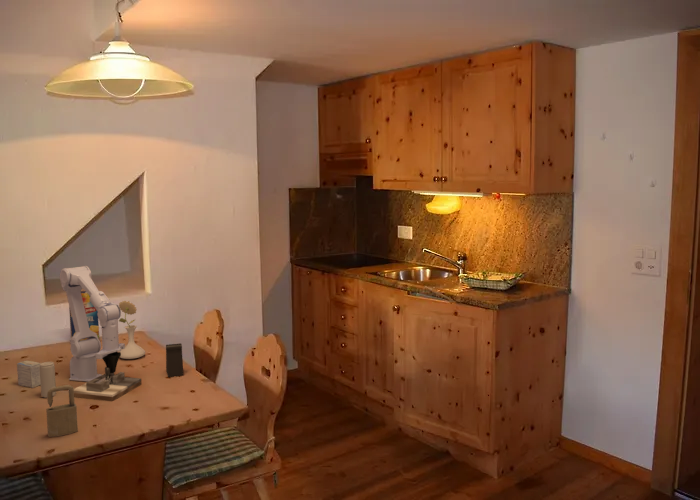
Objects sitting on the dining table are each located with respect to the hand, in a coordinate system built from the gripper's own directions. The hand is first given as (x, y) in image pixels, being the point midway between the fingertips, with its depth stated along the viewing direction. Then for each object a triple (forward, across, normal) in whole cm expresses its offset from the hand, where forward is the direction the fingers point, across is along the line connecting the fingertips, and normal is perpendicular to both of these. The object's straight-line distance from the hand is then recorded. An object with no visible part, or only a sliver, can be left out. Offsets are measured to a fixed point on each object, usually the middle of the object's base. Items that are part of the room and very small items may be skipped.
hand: (111, 372), depth 227 cm
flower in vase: (+6, +36, +16) cm, 40 cm away
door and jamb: (+6, -3, 0) cm, 7 cm away
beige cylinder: (+6, -13, +17) cm, 22 cm away
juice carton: (+6, +52, +52) cm, 74 cm away
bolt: (+3, -5, 0) cm, 6 cm away
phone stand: (+6, +21, -14) cm, 26 cm away
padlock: (+6, -39, -10) cm, 41 cm away
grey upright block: (+6, -5, +32) cm, 33 cm away
